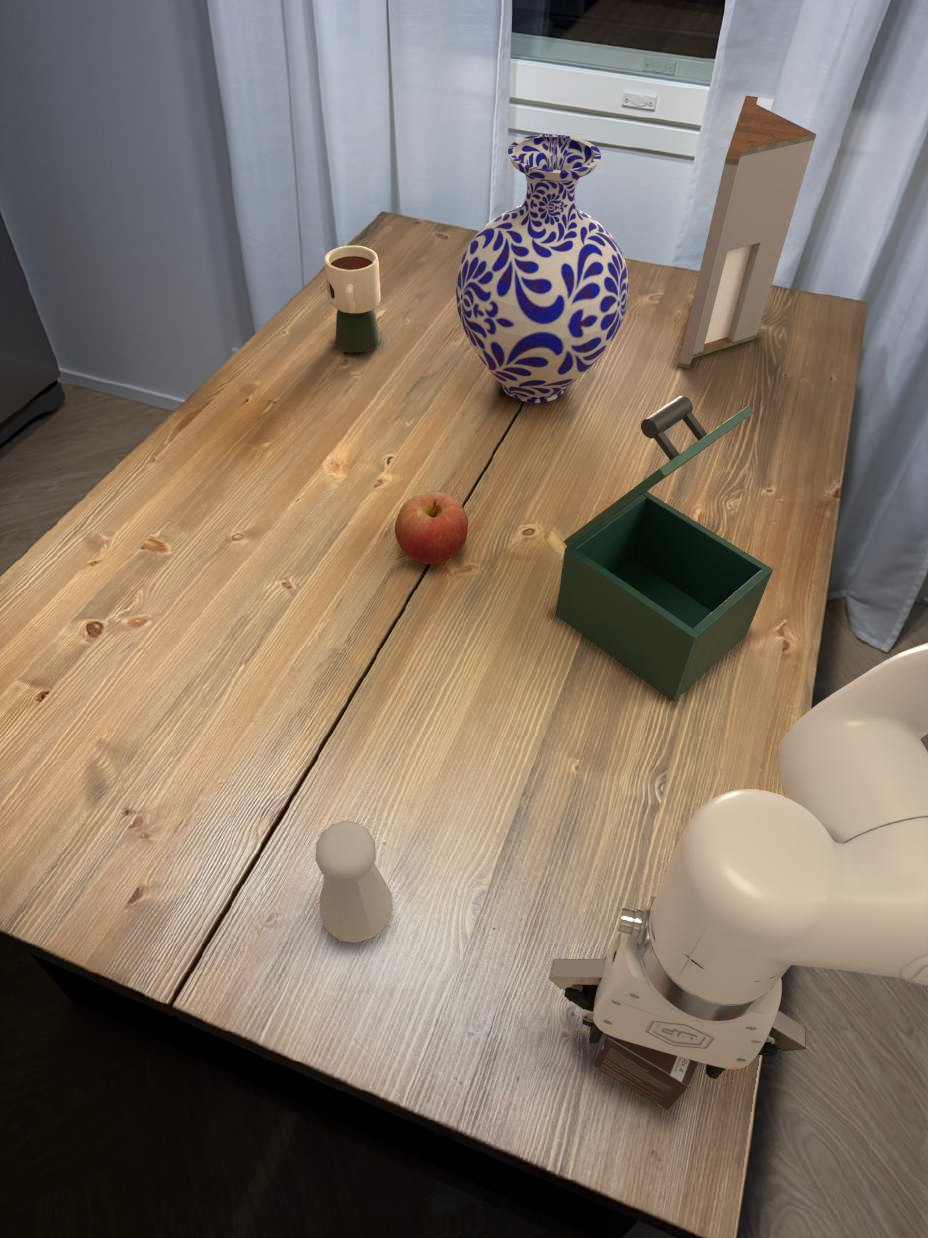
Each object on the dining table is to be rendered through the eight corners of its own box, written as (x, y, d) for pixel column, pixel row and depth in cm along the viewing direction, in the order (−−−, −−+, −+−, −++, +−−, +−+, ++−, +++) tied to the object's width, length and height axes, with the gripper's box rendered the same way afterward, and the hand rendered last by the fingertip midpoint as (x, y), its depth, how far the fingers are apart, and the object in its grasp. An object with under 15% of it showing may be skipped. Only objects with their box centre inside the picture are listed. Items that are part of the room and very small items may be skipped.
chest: (747, 634, 93) (773, 569, 85) (673, 702, 87) (694, 638, 80) (630, 556, 100) (645, 490, 93) (555, 614, 94) (564, 548, 87)
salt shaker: (342, 873, 75) (327, 795, 65) (404, 897, 74) (398, 821, 64) (309, 937, 71) (288, 864, 61) (374, 964, 70) (363, 894, 60)
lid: (754, 412, 78) (720, 366, 78) (665, 476, 72) (628, 426, 72) (648, 489, 92) (620, 450, 92) (567, 548, 86) (537, 506, 86)
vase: (606, 441, 114) (647, 205, 91) (440, 420, 116) (440, 184, 93) (617, 349, 127) (655, 124, 105) (469, 332, 130) (475, 108, 107)
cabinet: (699, 293, 138) (745, 95, 117) (762, 304, 136) (821, 105, 115) (678, 366, 125) (725, 157, 104) (747, 379, 123) (810, 169, 102)
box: (625, 994, 69) (641, 959, 63) (699, 1037, 67) (722, 1005, 61) (591, 1067, 65) (605, 1037, 60) (667, 1114, 63) (689, 1088, 58)
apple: (482, 545, 101) (484, 491, 95) (442, 588, 96) (442, 534, 90) (424, 517, 104) (423, 464, 98) (383, 558, 99) (379, 504, 93)
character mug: (337, 323, 130) (328, 237, 121) (386, 325, 130) (381, 238, 121) (328, 366, 123) (319, 277, 114) (380, 367, 123) (374, 279, 114)
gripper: (545, 970, 49) (523, 1059, 63) (870, 1060, 47) (775, 1133, 60) (570, 849, 54) (544, 955, 67) (866, 924, 51) (779, 1019, 65)
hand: (653, 1038), depth 64 cm, fingers open, 7 cm apart
